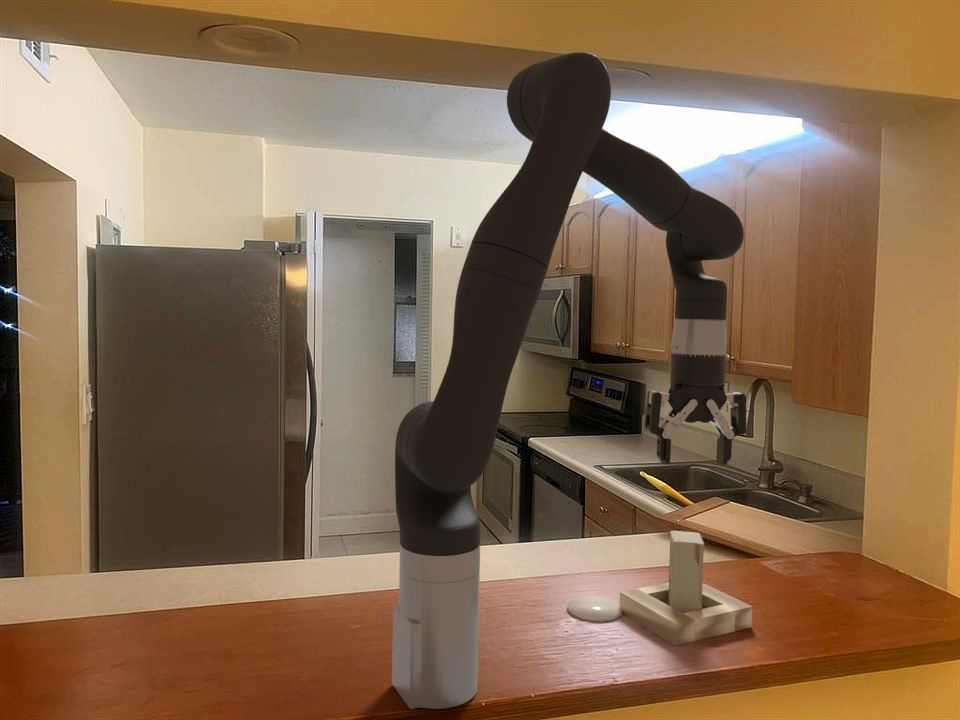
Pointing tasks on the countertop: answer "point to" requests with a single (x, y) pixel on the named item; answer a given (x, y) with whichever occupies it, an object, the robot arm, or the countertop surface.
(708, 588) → the pocket block
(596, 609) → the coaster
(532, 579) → the countertop surface
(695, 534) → the skincare box
